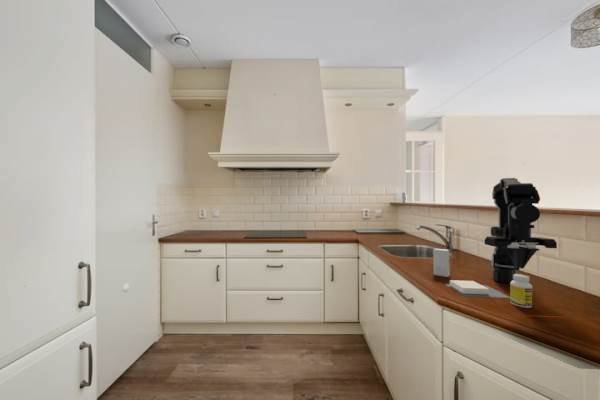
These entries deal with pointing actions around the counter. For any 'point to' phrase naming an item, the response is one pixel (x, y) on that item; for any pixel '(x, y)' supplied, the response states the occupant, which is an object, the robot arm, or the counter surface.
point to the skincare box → (441, 262)
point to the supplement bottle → (521, 291)
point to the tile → (469, 287)
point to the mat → (491, 294)
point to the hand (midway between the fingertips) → (519, 268)
